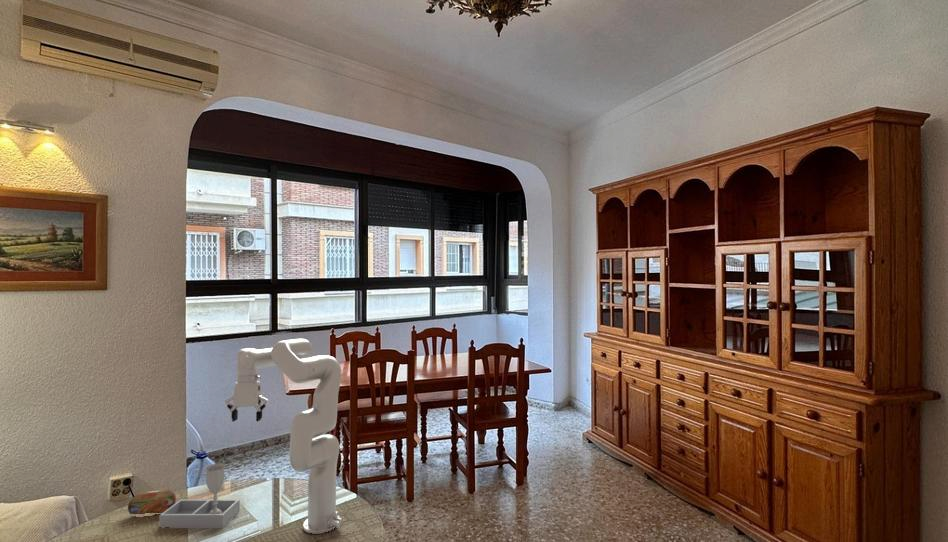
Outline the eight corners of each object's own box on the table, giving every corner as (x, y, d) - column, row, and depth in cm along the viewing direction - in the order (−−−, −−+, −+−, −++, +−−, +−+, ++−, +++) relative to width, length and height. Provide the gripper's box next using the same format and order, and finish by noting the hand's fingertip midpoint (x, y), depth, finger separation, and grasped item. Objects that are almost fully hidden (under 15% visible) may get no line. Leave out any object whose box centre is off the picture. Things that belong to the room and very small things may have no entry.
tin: (127, 519, 168) (127, 495, 168) (131, 514, 171) (131, 492, 171) (173, 513, 172) (174, 490, 172) (176, 509, 175) (177, 487, 175)
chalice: (218, 522, 164) (218, 471, 164) (199, 522, 164) (200, 471, 164) (229, 511, 171) (230, 463, 171) (211, 511, 171) (212, 463, 171)
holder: (239, 511, 173) (239, 499, 173) (222, 528, 162) (222, 515, 162) (180, 511, 173) (180, 499, 173) (159, 528, 162) (159, 515, 162)
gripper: (272, 376, 193) (271, 417, 192) (230, 376, 192) (230, 417, 192) (264, 380, 185) (264, 423, 185) (221, 380, 185) (220, 423, 184)
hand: (246, 420), depth 188 cm, fingers open, 9 cm apart
